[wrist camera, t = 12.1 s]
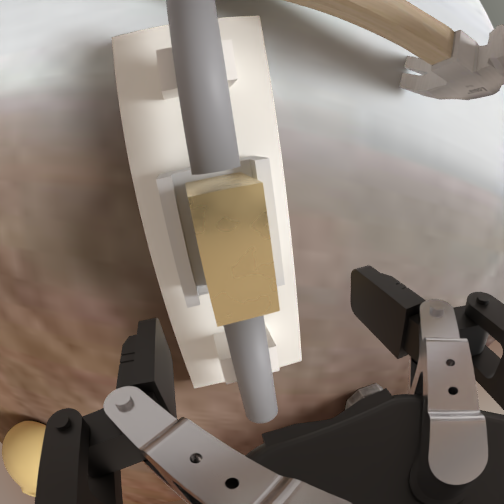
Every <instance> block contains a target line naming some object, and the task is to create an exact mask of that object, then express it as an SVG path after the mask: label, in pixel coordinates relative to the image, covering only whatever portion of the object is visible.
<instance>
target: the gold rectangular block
mask: <svg viewBox="0 0 504 504" xmlns="http://www.w3.org/2000/svg"><path fill="white" fill-rule="evenodd" d="M185 186H186V191H187V196H188V201H189V206H190V211H191V216H192V221H193V225H194V230H195V235H196V239H197V244H198V248H199V253H200V257H201V262H202V266H203V270H204V275H205V279H206V283H207V287H208V291H209V296H210V300H211V304H212V308H213V312H214V316H215V320H216V324H217V327H219V326H223V325H227V324H231V323H235V322H239V321H243V320H247V319H251V318H255V317H259V316H263V315H267V314H270V313H274V312H278V311H280V307H279V299H278V291H277V283H276V275H275V268H274V260H273V252H272V245H271V238H270V230H269V223H268V216H267V209H266V201H265V194H264V187H263V182H261V181H259V180H257V179H255V178H252V177H250V176H248V175H246V174H244V173H242V172H238V173H233V174H227V175H222V176H217V177H212V178H207V179H202V180H197V181H192V182H188V183H185Z"/></svg>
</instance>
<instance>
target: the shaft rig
mask: <svg viewBox="0 0 504 504" xmlns="http://www.w3.org/2000/svg"><path fill="white" fill-rule="evenodd" d="M166 4H167V13H168V21H169V25H164V26H158V27H153V28H148V29H144V30H139V31H135V32H131V33H127V34H123V35H119V36H115V37H112V48H113V59H114V68H115V77H116V85H117V93H118V100H119V107H120V114H121V120H122V126H123V132H124V138H125V144H126V149H127V155H128V160H129V165H130V170H131V175H132V180H133V184H134V189H135V194H136V198H137V202H138V207H139V211H140V215H141V219H142V223H143V227H144V231H145V235H146V239H147V243H148V247H149V251H150V254H151V258H152V262H153V265H154V269H155V272H156V276H157V279H158V283H159V286H160V289H161V293H162V296H163V299H164V302H165V306H166V309H167V312H168V315H169V318H170V321H171V324H172V327H173V330H174V333H175V336H176V339H177V342H178V345H179V348H180V350H181V353H182V356H183V359H184V362H185V364H186V367H187V370H188V372H189V375H190V378H191V380H192V383H193V386H194V388H198V387H203V386H208V385H212V384H217V383H221V382H226V384H230V383H234V382H238V386H239V390H240V394H241V397H242V401H243V405H244V409H245V412H246V416H247V418H248V419H249V420H250V421H252V422H255V423H266V422H269V421H271V420H272V419H273V418H274V417H275V416H276V415H277V412H278V408H277V401H276V395H275V388H274V381H273V375H272V372H276V371H279V367H282V366H286V365H289V364H292V363H296V362H299V361H302V356H301V342H300V329H299V316H298V304H297V292H296V281H295V271H294V260H293V250H292V241H291V231H290V222H289V213H288V204H287V196H286V187H285V179H284V171H283V163H282V156H281V148H280V141H279V134H278V126H277V119H276V113H275V106H274V99H273V93H272V86H271V80H270V74H269V67H268V61H267V55H266V49H265V44H264V38H263V32H262V27H261V21H260V16H239V17H224V18H218V16H217V10H216V4H215V0H166ZM238 172H242V173H244V174H246V175H248V176H250V177H252V178H255V179H257V180H259V181H261V182H263V187H264V194H265V201H266V209H267V216H268V223H269V230H270V238H271V245H272V252H273V260H274V268H275V275H276V283H277V291H278V299H279V307H280V311H278V312H274V313H270V314H267V315H263V316H259V317H255V318H251V319H247V320H243V321H239V322H235V323H231V324H227V325H223V326H219V327H217V324H216V320H215V316H214V312H213V308H212V304H211V300H210V296H209V291H208V287H207V283H206V279H205V275H204V270H203V266H202V262H201V257H200V253H199V248H198V244H197V239H196V235H195V230H194V225H193V221H192V216H191V211H190V206H189V201H188V196H187V191H186V186H185V183H188V182H192V181H197V180H202V179H207V178H212V177H217V176H222V175H227V174H233V173H238Z"/></svg>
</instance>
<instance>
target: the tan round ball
mask: <svg viewBox="0 0 504 504" xmlns="http://www.w3.org/2000/svg"><path fill="white" fill-rule="evenodd" d="M45 429H46V425H44V424H41V423H38V422H34V421H23V422H20V423H18V424H16V425H15V426H13V427H12V428H11V429H10V430H9V431H8V433H7V434H6V436H5V438H4V441H3V446H2V455H3V461H4V465H5V467H6V469H7V471H8V473H9V474H10V475H11V477H12V478H13V480H14V481H15V482H16V483H17V484H18V485H19V486H21V489H22V492H23V493H26V494H28V495H30V496H34V497H35V496H36V486H37V478H38V470H39V463H40V456H41V450H42V444H43V439H44V434H45Z"/></svg>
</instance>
